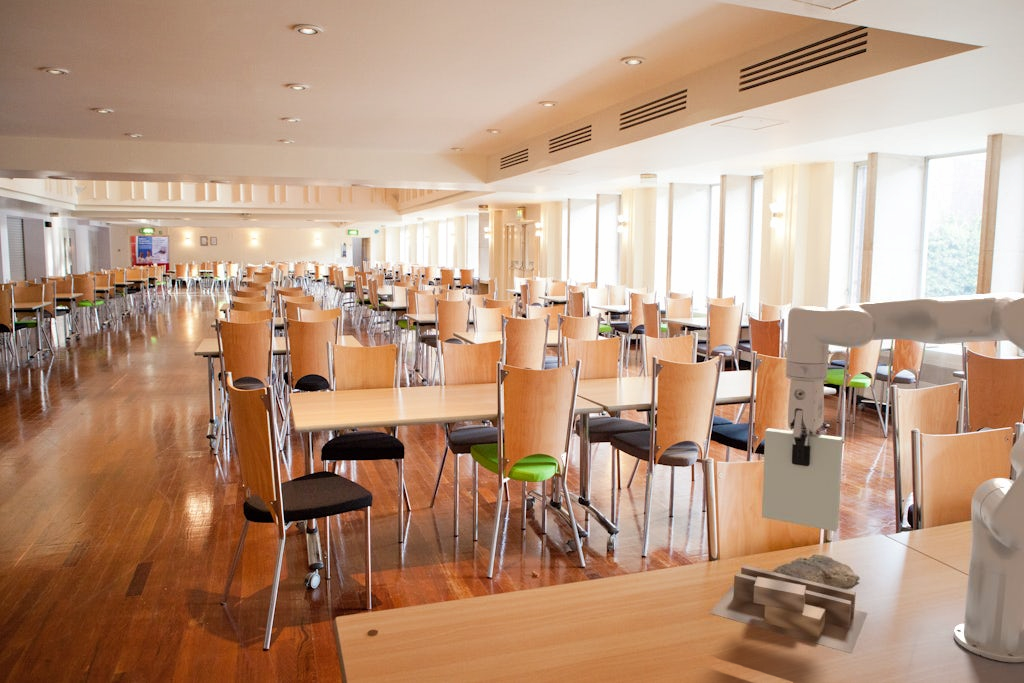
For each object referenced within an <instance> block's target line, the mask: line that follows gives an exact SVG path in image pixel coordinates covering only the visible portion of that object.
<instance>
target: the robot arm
mask: <svg viewBox="0 0 1024 683" xmlns="http://www.w3.org/2000/svg"><path fill="white" fill-rule="evenodd" d="M786 336H787V338H786V357H785V358H786V362H785V365H786V366H785V379H789V380H790V382H789V394H788V406H787V407H788V408H787V409H788V410H787V427H788V429H790V431H792V430H793V446H792V464H795V465H802V466H809V464H810V446H808V445H809V433H812V434H815V432H816V431H817V430H818V429H819V428H820V427H821V426H822V425H823V424H824V422H825V421H824V419H825V389H824V388H825V386H824V385H825V384H824V381H827V380H828V373H829V372H828V371H829V370H828V367H829V350H830V349H829V346H830V345H831V346H837V347H842V348H850V349H857V348H861V347H865V346H867V345H868V344H870V343H871V341H880V340H881V341H882V340H885V341H886V340H902V341H912V342H918V343H922V344H932V345H945V344H948V345H949V344H959V343H961V344H962V343H979V342H1001V341H1004V342H1005V341H1009V342H1011V344H1013V345H1015V346H1016V347H1017V348H1018V349H1020V350H1021V351H1023V352H1024V293H1022V292H1021V293H1020V292H997V293H984V294H983V293H981V294H971V295H969V294H968V295H957V296H945V297H944V296H943V297H942V296H940V297H927V298H918V299H917V298H916V299H908V300H891V301H877V302H876V301H875V302H861V303H849V304H844V305H841V306H839V307H837V308H836V309H827V308H826V307H822V306H809V305H807V306H806V305H805V306H795V307H792V308H791V309H790V310H789V312H788V316H787V335H786ZM802 433H805V435H804V434H802ZM1009 452H1010V453H1009V460H1010V464H1011V466H1012V467H1013V469H1014V470H1015V472H1016V473H1017V474H1018V475H1017V477H1016V478H1015V480H1013V479H1010V478H1006V477H994V478H990V479H987V480H985V481H983V482H982V483H981V484H979V486H978V487H977V488H976V489H975V491H974V492H973V496H972V498H971V507H970V508H971V509H970V510H971V512H970V514H971V540H970V541H971V543H970V544H971V545H970V554H969V555H970V556H969V565H968V575H967V576H968V578H967V586H966V598H965V607H964V620H963V623H960V624H958V625H956V626H955V627H954V628H953V634H952V635H953V638H954V639H955V641H956V642H957V643H958V644H959V645H960V646H961V647H963V648H964V649H966V650H967V651H969V652H971V653H972V654H975V655H978V656H980V655H981V657H983V658H986V659H990V660H994V661H998V662H1004V663H1024V431H1023V432H1021V435H1020V436H1019V437H1018V439H1017V440H1016V441H1015V443H1014V444H1013V445H1012V447H1011V450H1010V451H1009Z"/></svg>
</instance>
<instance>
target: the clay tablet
mask: <svg viewBox="0 0 1024 683" xmlns="http://www.w3.org/2000/svg"><path fill="white" fill-rule="evenodd" d="M771 572H775V573H779V574H783V575H787V576H792V577H796V578H800V579H804V580H808V581H812V582H817V583H821V584H825V585H829V586H833V587H837V588H841V589H843V588H849V587H853V586H854V585H856V584H857V583H858V581H859V580H860V576H858V574H856V573H855V572H854V570H853V569H852V568H851V567H850V566H849V565H847V564H844V563H842V562H839V561H837V560H835V559H833V558H832V557H830V556H826V555H822V554H813V555H811V556H810V557H809V558H806V557H798V558H796V559H794V560H792V561H790V562H787V563H784V564H781V565H779V566H776V567H775V568H774V569H772V571H771Z"/></svg>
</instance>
